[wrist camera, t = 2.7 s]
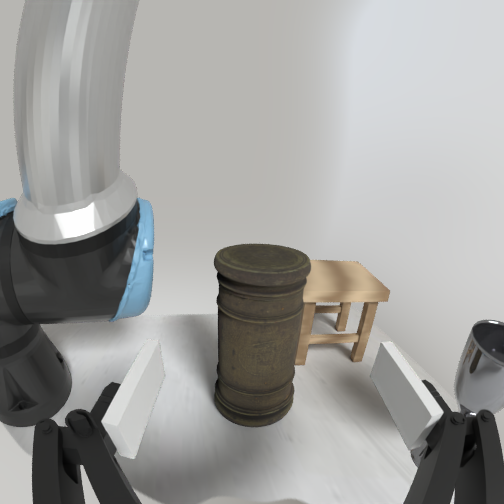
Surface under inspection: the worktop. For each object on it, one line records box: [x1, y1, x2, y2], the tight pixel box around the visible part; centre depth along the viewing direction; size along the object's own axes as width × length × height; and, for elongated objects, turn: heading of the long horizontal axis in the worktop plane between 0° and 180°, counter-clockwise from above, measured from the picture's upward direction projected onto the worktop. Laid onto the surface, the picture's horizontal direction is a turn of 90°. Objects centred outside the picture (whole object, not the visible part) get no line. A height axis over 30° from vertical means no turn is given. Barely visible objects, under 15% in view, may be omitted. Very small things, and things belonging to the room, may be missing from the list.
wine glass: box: [411, 320, 504, 467], centre depth 15 cm, size 8×8×15 cm
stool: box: [295, 260, 390, 365], centre depth 39 cm, size 12×12×12 cm
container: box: [214, 244, 311, 427], centre depth 26 cm, size 9×9×18 cm
